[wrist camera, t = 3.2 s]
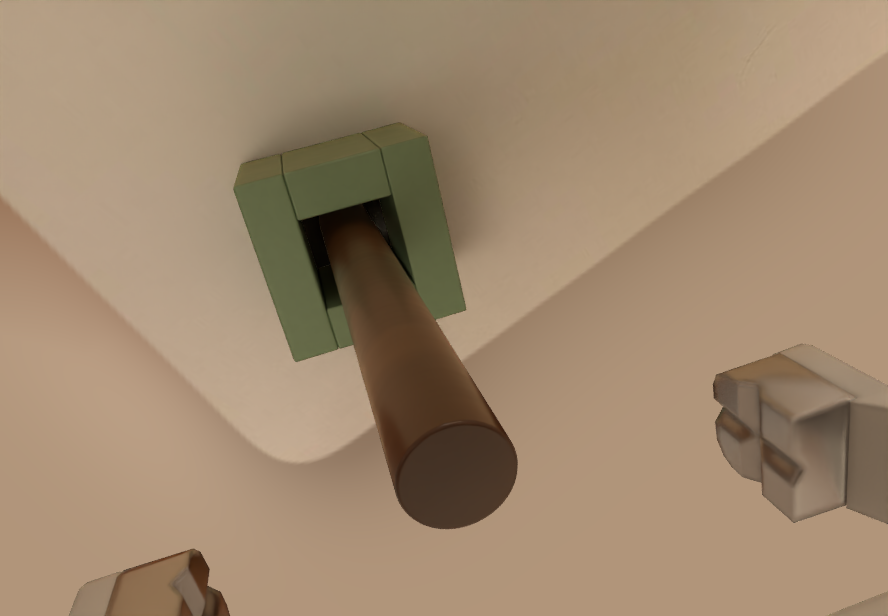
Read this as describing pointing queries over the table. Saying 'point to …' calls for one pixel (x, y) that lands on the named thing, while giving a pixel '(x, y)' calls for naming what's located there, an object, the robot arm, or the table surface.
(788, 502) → the robot arm
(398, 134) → the holder
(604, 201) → the table surface
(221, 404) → the table surface
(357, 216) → the stick
